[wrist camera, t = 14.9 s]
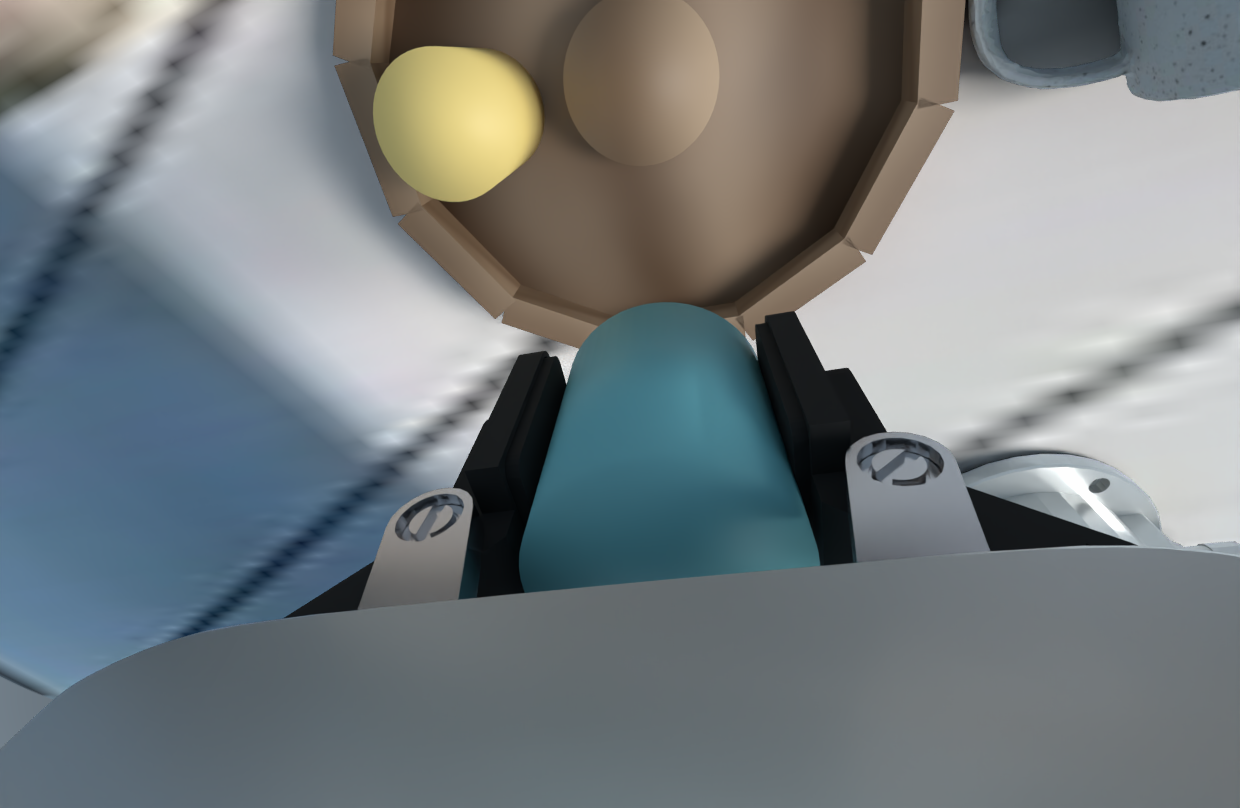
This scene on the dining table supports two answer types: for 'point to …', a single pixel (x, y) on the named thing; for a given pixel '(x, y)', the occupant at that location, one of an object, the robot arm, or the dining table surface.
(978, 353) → the dining table surface
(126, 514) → the dining table surface
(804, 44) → the groove tray
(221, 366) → the dining table surface
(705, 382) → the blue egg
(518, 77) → the ochre bead
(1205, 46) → the ceramic mug
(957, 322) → the dining table surface
